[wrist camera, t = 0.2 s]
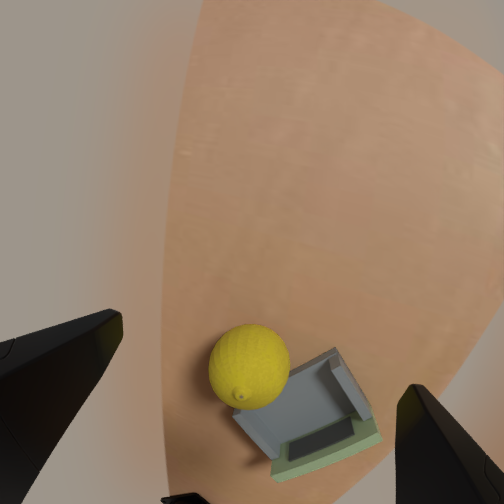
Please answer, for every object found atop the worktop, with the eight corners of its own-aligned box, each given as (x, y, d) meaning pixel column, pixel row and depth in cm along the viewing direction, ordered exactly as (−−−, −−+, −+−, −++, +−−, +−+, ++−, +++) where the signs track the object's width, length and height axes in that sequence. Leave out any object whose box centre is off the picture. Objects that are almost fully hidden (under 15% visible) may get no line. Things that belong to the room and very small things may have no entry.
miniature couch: (280, 447, 26) (277, 482, 21) (237, 395, 25) (226, 430, 20) (371, 406, 24) (382, 440, 19) (335, 346, 24) (344, 378, 19)
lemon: (288, 373, 24) (285, 434, 17) (222, 367, 25) (197, 424, 17) (293, 311, 24) (293, 360, 16) (222, 307, 24) (192, 351, 16)
